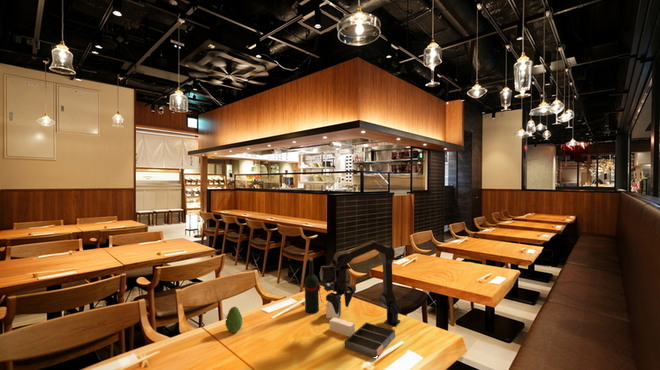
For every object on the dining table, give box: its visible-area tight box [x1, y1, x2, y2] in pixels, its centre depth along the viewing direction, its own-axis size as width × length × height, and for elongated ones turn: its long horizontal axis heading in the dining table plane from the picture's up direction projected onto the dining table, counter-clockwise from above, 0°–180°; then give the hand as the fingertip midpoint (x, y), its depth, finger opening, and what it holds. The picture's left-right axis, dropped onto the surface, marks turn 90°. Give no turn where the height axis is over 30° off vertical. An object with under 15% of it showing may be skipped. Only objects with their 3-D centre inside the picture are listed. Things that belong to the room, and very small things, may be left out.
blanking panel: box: [329, 317, 356, 337], centre depth 140 cm, size 4×12×5 cm, turn 56°
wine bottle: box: [304, 257, 323, 315], centre depth 164 cm, size 8×10×30 cm
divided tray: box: [343, 321, 396, 359], centre depth 130 cm, size 20×16×3 cm
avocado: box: [225, 306, 243, 333], centre depth 142 cm, size 8×8×12 cm
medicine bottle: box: [325, 301, 342, 319], centre depth 157 cm, size 7×7×12 cm
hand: (341, 310), depth 140 cm, fingers open, 9 cm apart
